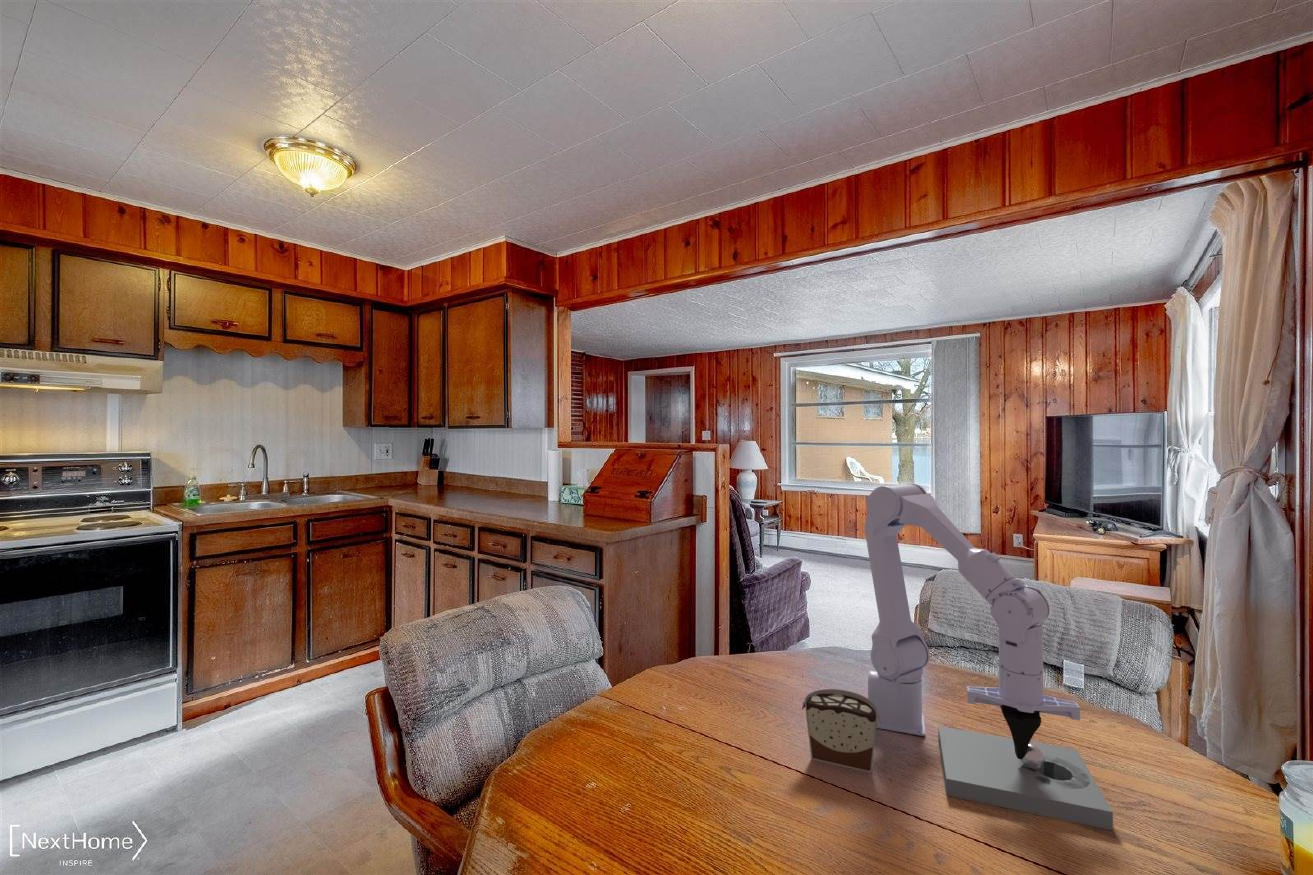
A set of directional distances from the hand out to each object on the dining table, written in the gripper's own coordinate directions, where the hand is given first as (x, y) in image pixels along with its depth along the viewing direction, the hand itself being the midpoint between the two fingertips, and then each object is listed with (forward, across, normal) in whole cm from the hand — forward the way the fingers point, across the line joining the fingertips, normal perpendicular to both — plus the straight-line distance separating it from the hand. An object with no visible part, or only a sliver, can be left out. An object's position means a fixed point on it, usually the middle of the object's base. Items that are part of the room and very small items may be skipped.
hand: (1021, 756), depth 86 cm
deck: (+4, -1, 0) cm, 4 cm away
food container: (+4, -26, -3) cm, 26 cm away
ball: (0, +1, 0) cm, 1 cm away
